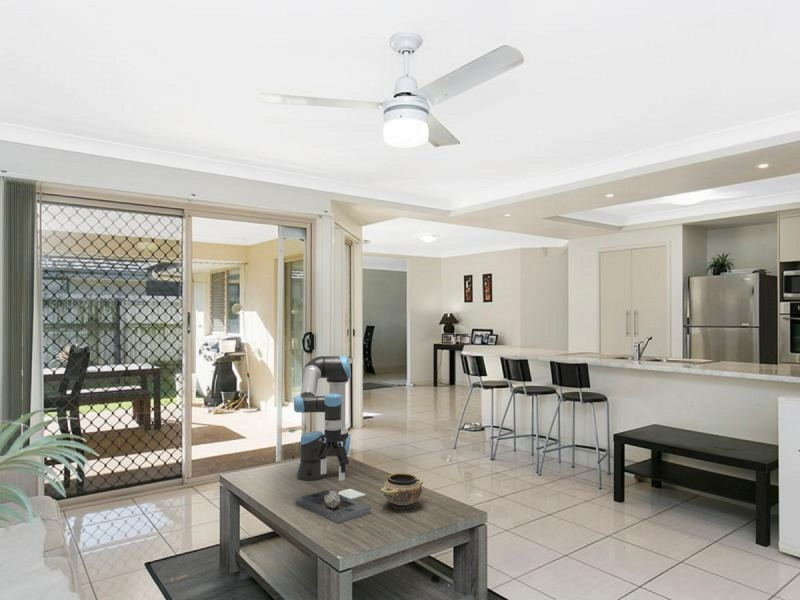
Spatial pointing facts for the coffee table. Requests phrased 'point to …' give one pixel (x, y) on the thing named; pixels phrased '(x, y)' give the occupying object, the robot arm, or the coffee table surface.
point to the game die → (332, 499)
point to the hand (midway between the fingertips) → (332, 476)
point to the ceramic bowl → (402, 489)
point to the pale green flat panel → (351, 494)
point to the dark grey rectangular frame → (337, 516)
